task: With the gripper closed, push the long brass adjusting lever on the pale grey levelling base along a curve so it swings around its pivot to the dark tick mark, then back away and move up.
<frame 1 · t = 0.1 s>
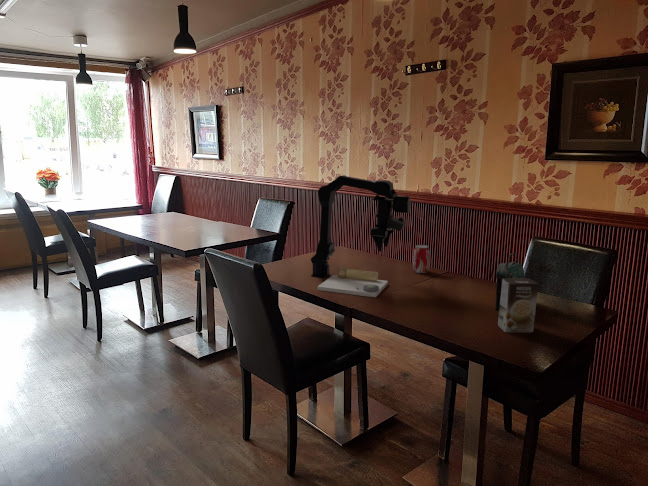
hand: (383, 249, 202), 14 cm above the table, fingers open, 9 cm apart
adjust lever: (357, 274, 204), point 3 cm above the table, hinge at 0.0°
soda can: (420, 272, 221), on the table
ceramic cat: (507, 305, 178), on the table
levelling base: (353, 287, 198), on the table
coffee box: (515, 329, 156), on the table
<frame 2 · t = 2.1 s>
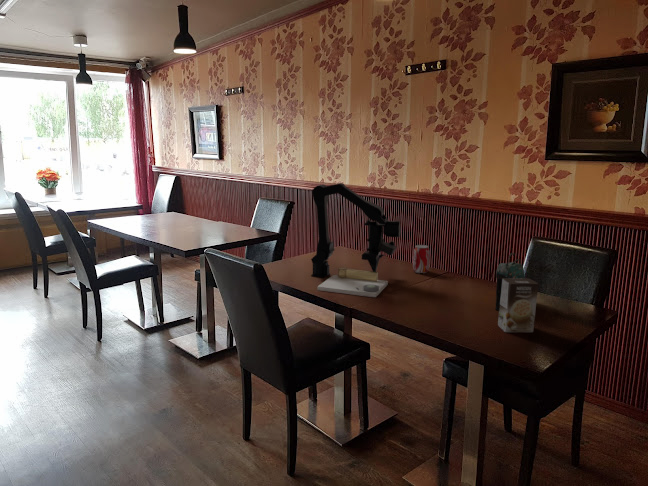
hand: (374, 271, 208), 4 cm above the table, fingers closed
nothing on the table moved.
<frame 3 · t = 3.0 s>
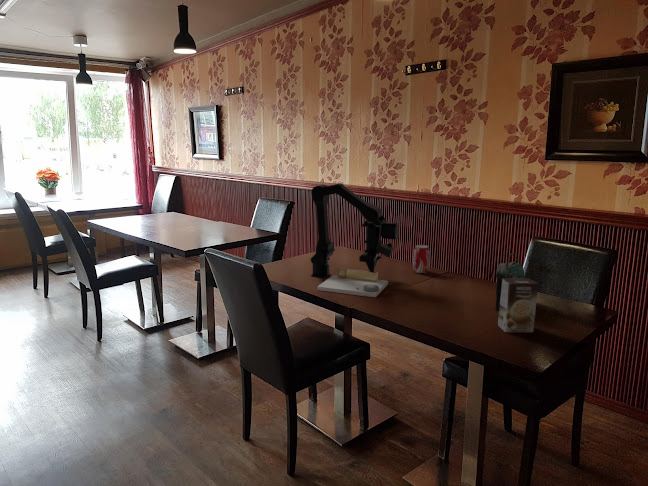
hand: (372, 273, 205), 4 cm above the table, fingers closed
nothing on the table moved.
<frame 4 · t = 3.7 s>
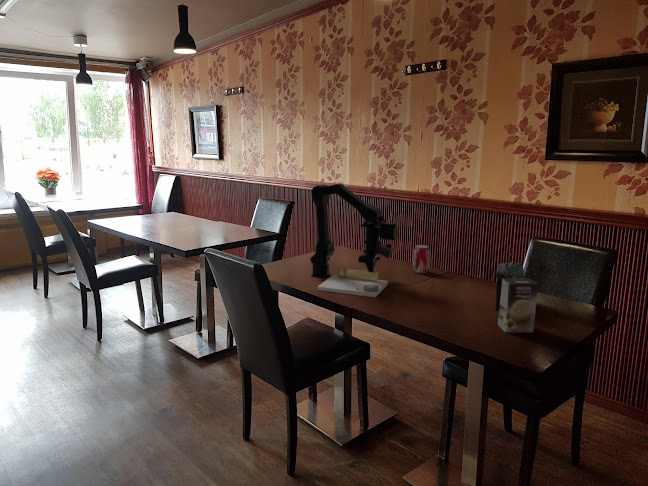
hand: (371, 274, 204), 4 cm above the table, fingers closed
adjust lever: (357, 274, 204), point 3 cm above the table, hinge at -0.1°, touching gripper
everything else where it was.
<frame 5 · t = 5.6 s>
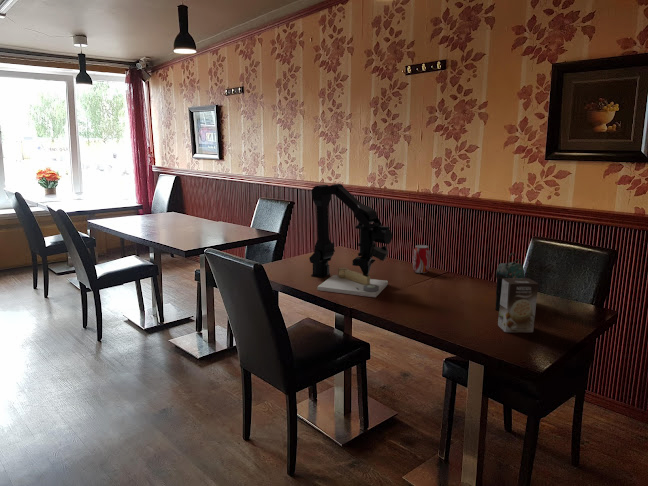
hand: (366, 277, 199), 4 cm above the table, fingers closed
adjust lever: (353, 276, 202), point 3 cm above the table, hinge at -27.3°, touching gripper
everything else where it was.
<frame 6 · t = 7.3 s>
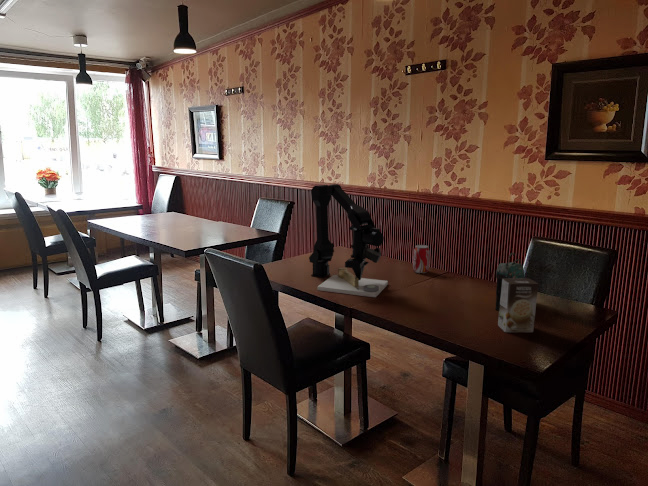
hand: (359, 279, 196), 4 cm above the table, fingers closed
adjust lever: (348, 277, 200), point 3 cm above the table, hinge at -49.2°
everything else where it was.
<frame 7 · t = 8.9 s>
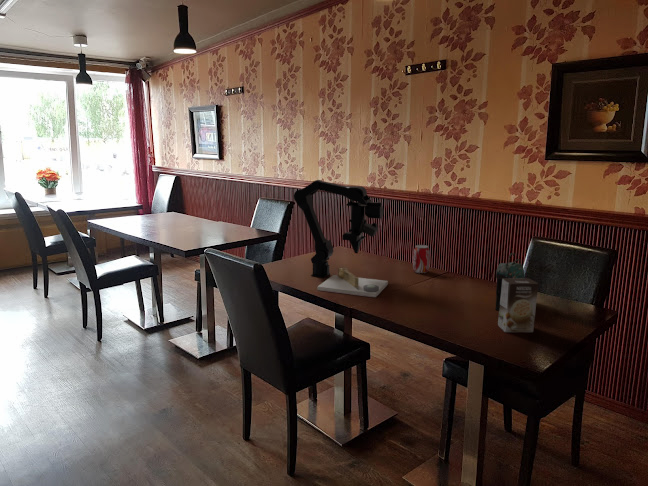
hand: (356, 253, 207), 11 cm above the table, fingers closed
nothing on the table moved.
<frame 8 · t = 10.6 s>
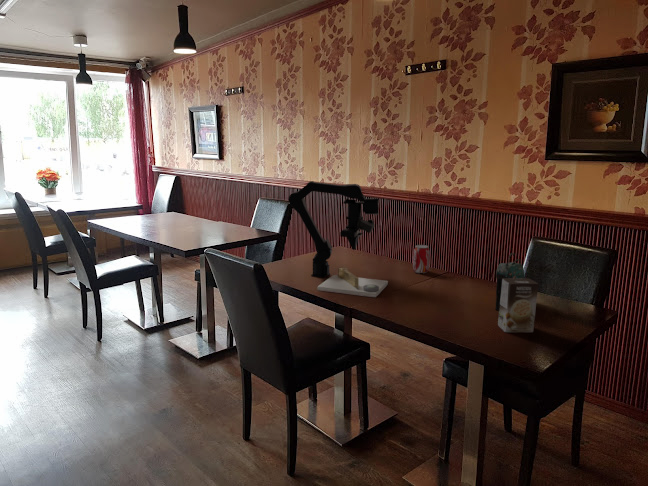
hand: (353, 249, 211), 12 cm above the table, fingers closed
nothing on the table moved.
at the end: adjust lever at -49° (first picture: +0°); the gripper is holding nothing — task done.
